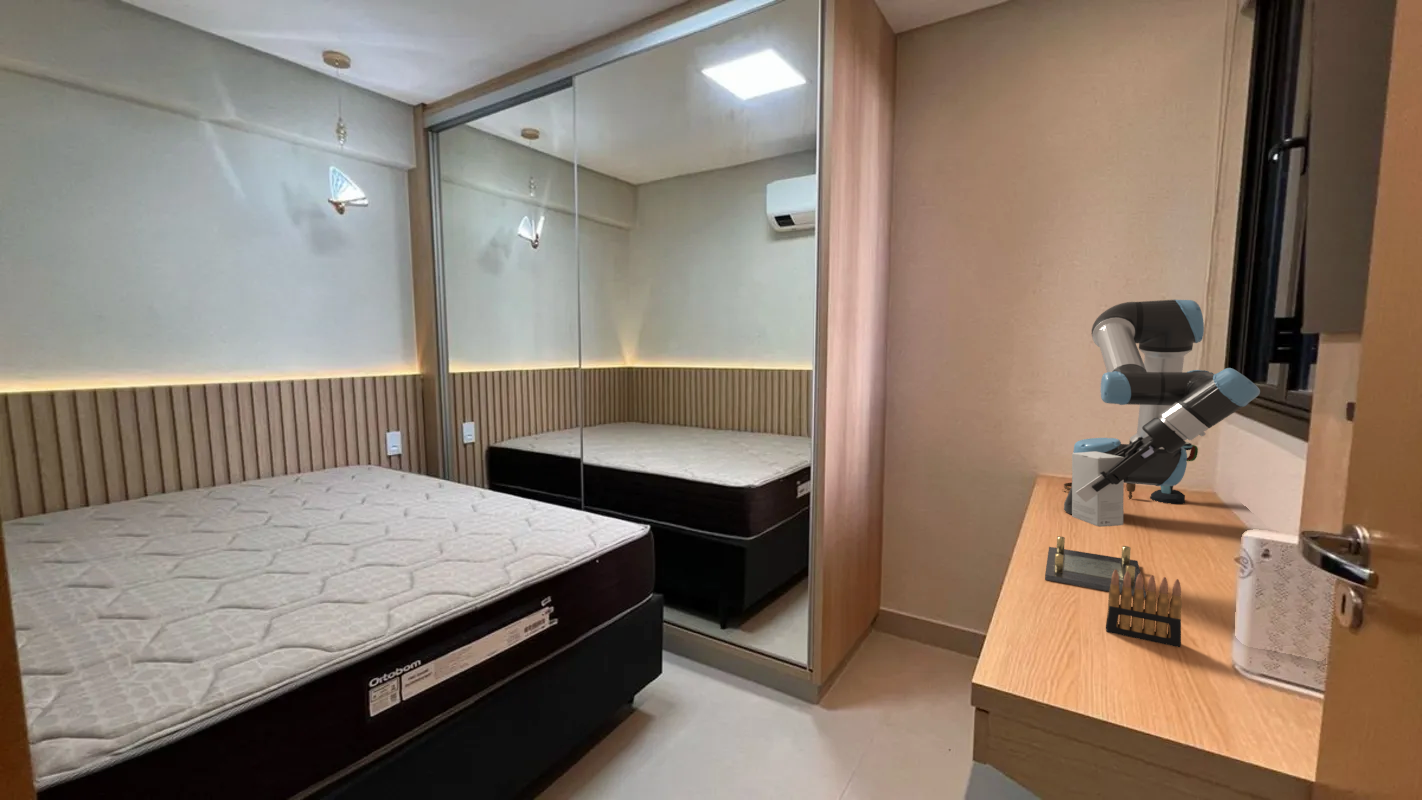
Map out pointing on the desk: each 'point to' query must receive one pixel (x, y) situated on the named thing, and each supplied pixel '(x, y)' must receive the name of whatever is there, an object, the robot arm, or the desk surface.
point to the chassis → (1089, 568)
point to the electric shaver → (1167, 491)
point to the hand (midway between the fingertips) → (1080, 491)
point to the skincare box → (1106, 503)
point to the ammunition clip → (1145, 611)
